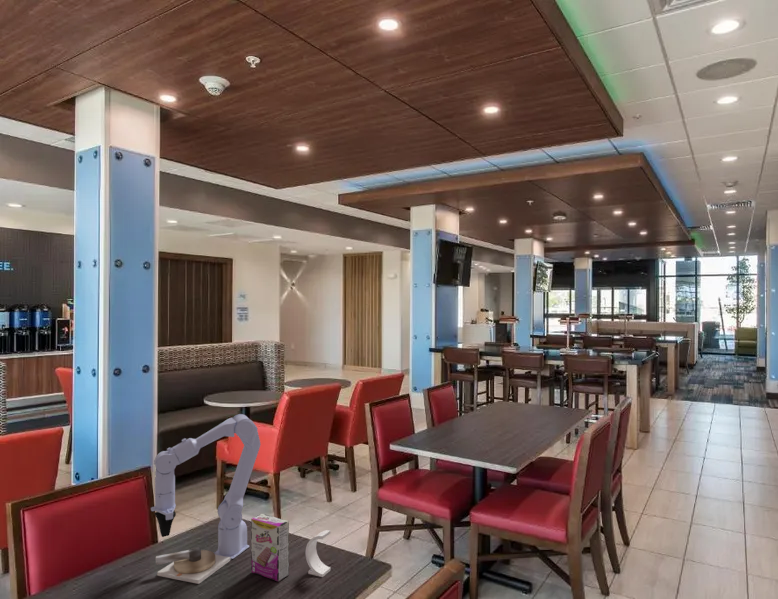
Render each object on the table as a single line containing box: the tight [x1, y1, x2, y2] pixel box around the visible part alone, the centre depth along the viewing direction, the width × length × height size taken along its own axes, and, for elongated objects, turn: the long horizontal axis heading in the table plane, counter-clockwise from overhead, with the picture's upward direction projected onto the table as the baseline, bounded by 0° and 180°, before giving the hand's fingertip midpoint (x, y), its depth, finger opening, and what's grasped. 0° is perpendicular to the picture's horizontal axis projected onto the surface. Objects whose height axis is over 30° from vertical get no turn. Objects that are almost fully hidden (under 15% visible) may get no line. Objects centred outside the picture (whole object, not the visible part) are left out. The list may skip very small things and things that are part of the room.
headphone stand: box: [305, 529, 332, 578], centre depth 161 cm, size 5×6×12 cm
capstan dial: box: [155, 546, 215, 574], centre depth 163 cm, size 17×12×4 cm
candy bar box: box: [250, 513, 290, 582], centre depth 160 cm, size 11×5×16 cm, turn 59°
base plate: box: [156, 555, 231, 585], centre depth 164 cm, size 15×15×1 cm
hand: (165, 535), depth 166 cm, fingers closed
